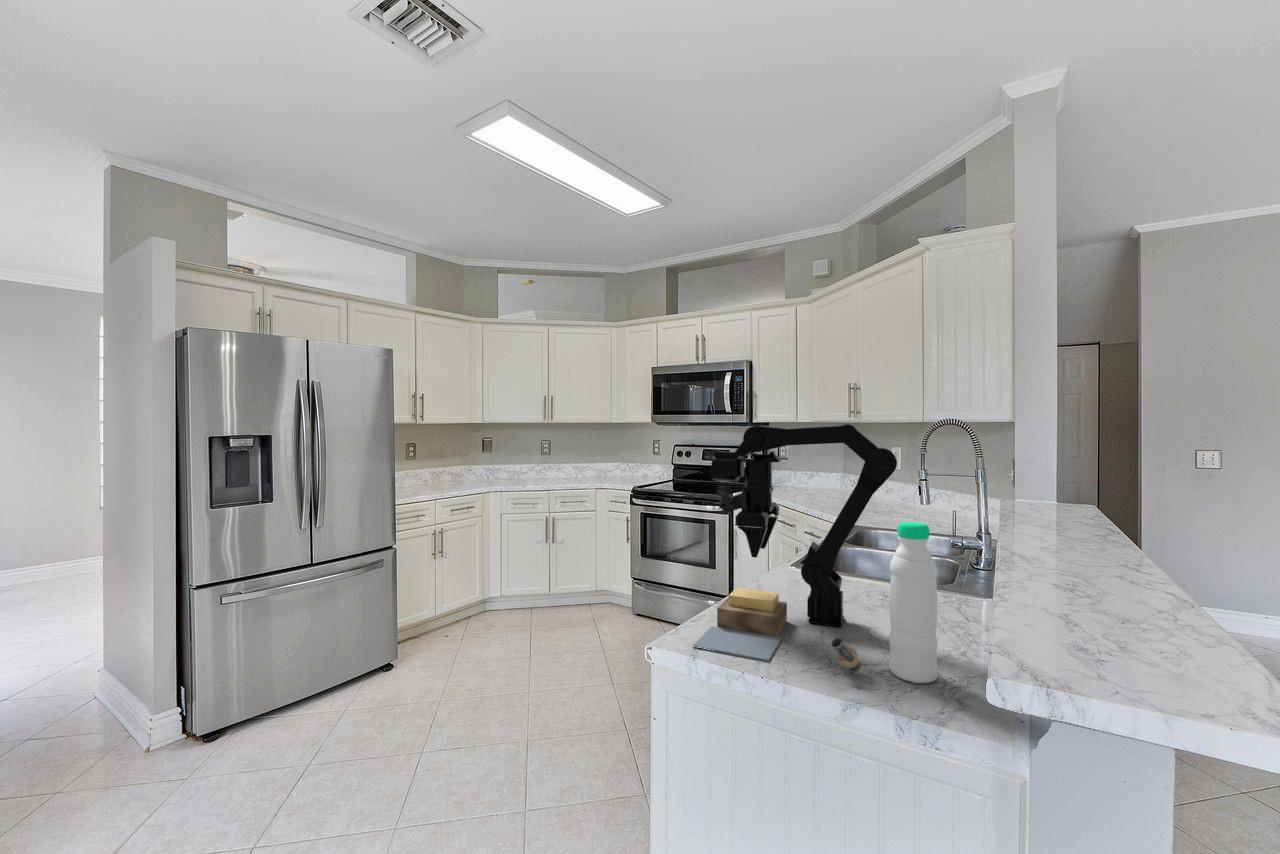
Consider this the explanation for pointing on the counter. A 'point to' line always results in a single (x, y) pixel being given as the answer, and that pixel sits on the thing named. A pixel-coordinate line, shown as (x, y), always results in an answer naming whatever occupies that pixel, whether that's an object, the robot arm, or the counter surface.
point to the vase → (848, 657)
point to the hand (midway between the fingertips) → (758, 552)
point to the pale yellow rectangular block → (754, 599)
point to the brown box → (752, 618)
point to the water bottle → (913, 606)
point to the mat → (739, 643)
